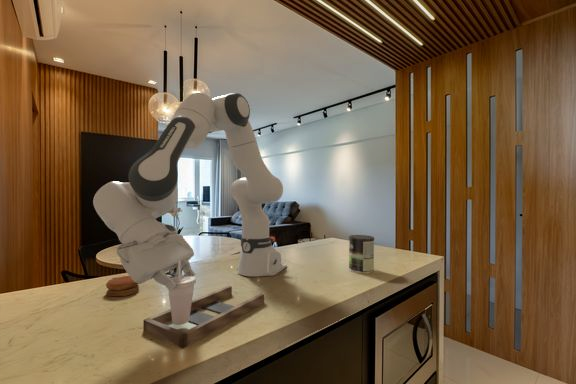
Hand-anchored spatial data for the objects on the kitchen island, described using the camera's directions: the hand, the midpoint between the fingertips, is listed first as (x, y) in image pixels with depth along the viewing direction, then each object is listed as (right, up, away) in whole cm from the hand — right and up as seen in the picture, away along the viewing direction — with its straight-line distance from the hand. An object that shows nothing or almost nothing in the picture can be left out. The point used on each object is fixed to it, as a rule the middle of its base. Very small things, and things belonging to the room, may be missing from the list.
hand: (183, 282), depth 64 cm
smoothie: (-1, -9, 0) cm, 9 cm away
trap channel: (+4, -11, +8) cm, 14 cm away
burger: (-29, -12, +24) cm, 40 cm away
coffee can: (+55, -12, +52) cm, 76 cm away
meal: (-19, -12, +39) cm, 45 cm away
